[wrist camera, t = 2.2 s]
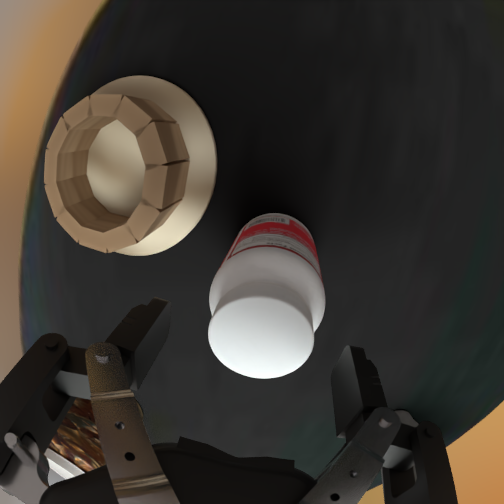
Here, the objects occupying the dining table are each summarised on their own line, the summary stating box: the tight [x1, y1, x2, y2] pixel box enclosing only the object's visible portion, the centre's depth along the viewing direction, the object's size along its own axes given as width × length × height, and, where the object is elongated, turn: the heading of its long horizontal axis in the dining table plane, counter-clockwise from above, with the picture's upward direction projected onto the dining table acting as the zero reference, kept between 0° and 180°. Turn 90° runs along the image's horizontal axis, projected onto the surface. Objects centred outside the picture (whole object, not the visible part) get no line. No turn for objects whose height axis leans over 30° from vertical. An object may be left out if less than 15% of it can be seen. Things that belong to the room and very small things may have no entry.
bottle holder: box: [44, 75, 217, 256], centre depth 19 cm, size 15×15×5 cm
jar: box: [44, 397, 143, 479], centre depth 27 cm, size 12×12×15 cm
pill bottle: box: [208, 213, 325, 378], centre depth 17 cm, size 6×6×11 cm
